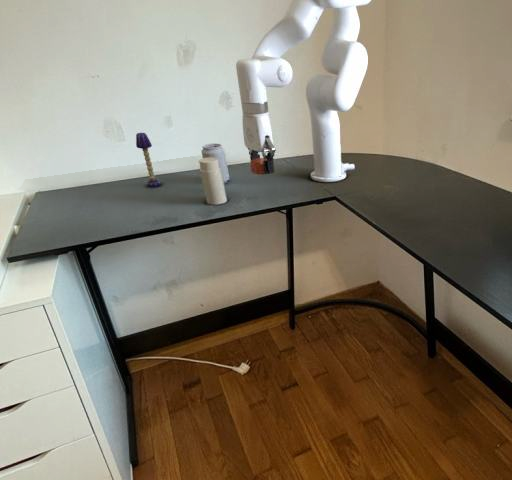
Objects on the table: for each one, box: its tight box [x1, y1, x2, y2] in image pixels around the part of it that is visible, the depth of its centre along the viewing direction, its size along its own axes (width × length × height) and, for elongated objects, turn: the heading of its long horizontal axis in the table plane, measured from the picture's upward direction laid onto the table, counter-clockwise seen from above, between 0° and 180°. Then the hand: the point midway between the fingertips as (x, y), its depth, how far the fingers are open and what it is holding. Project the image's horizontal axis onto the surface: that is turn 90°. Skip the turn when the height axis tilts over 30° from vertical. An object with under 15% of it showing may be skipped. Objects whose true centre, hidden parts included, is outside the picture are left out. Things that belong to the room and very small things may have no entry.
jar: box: [198, 157, 228, 206], centre depth 144 cm, size 6×6×13 cm
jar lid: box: [249, 157, 275, 175], centre depth 146 cm, size 7×7×3 cm
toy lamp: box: [135, 132, 162, 188], centre depth 155 cm, size 5×5×17 cm
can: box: [200, 143, 230, 184], centre depth 160 cm, size 8×8×12 cm
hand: (262, 170), depth 147 cm, fingers closed on jar lid, 7 cm apart
